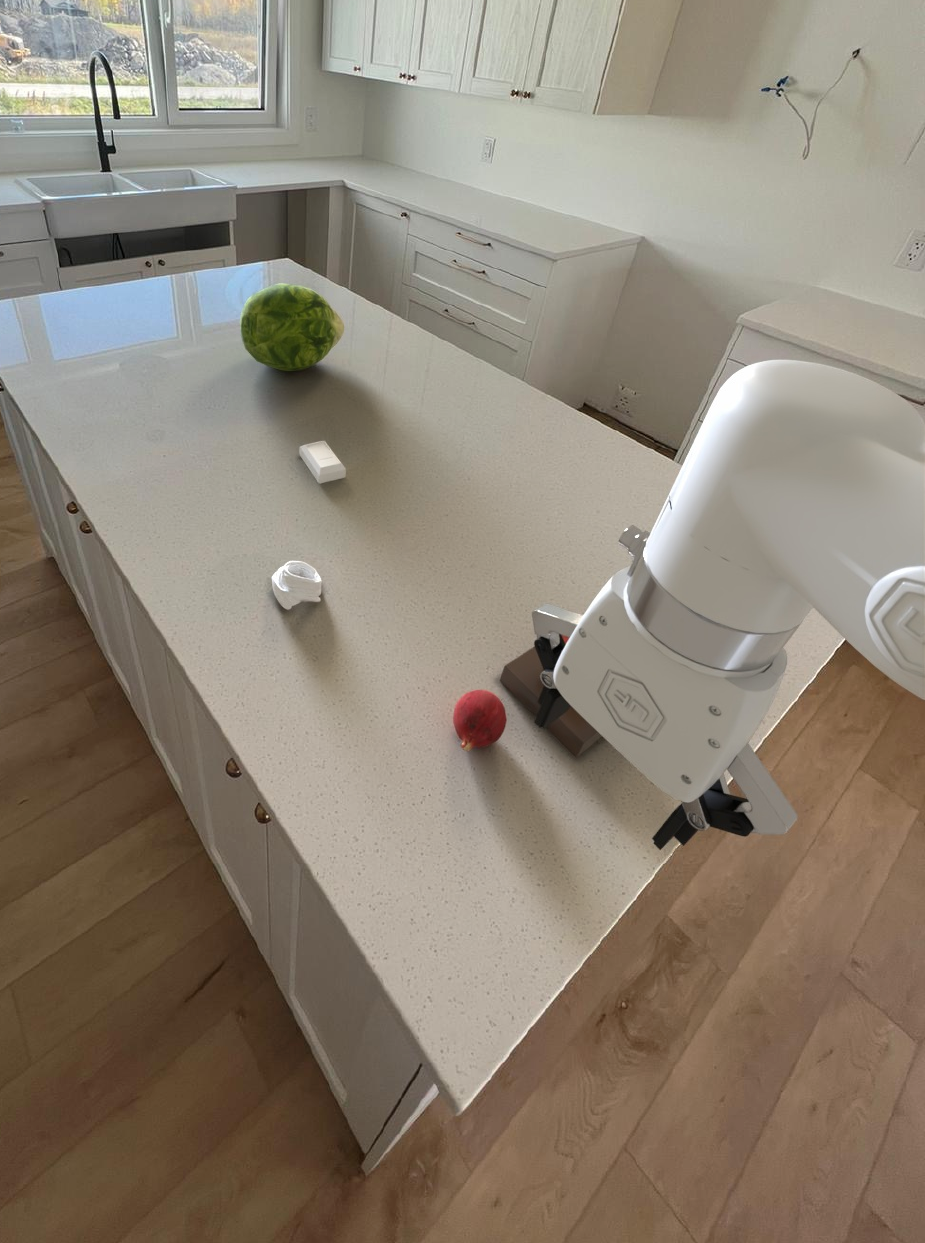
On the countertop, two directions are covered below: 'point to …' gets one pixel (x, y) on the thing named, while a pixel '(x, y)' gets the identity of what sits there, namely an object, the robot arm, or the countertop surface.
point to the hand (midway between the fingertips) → (605, 770)
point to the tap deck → (527, 688)
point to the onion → (479, 719)
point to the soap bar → (322, 462)
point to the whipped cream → (296, 584)
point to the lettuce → (289, 327)
